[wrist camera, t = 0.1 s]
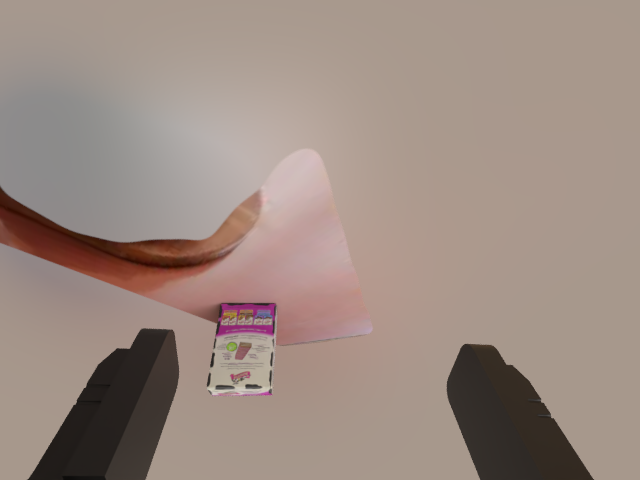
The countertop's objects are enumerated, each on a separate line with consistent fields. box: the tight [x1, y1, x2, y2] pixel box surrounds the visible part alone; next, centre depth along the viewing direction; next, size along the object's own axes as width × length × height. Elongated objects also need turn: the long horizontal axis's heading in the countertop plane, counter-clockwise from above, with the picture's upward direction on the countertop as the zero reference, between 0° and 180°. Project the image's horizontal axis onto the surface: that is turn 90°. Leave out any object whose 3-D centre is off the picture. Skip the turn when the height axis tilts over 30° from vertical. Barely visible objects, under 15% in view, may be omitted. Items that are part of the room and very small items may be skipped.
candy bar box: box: [207, 303, 277, 396], centre depth 68 cm, size 11×5×16 cm, turn 89°
